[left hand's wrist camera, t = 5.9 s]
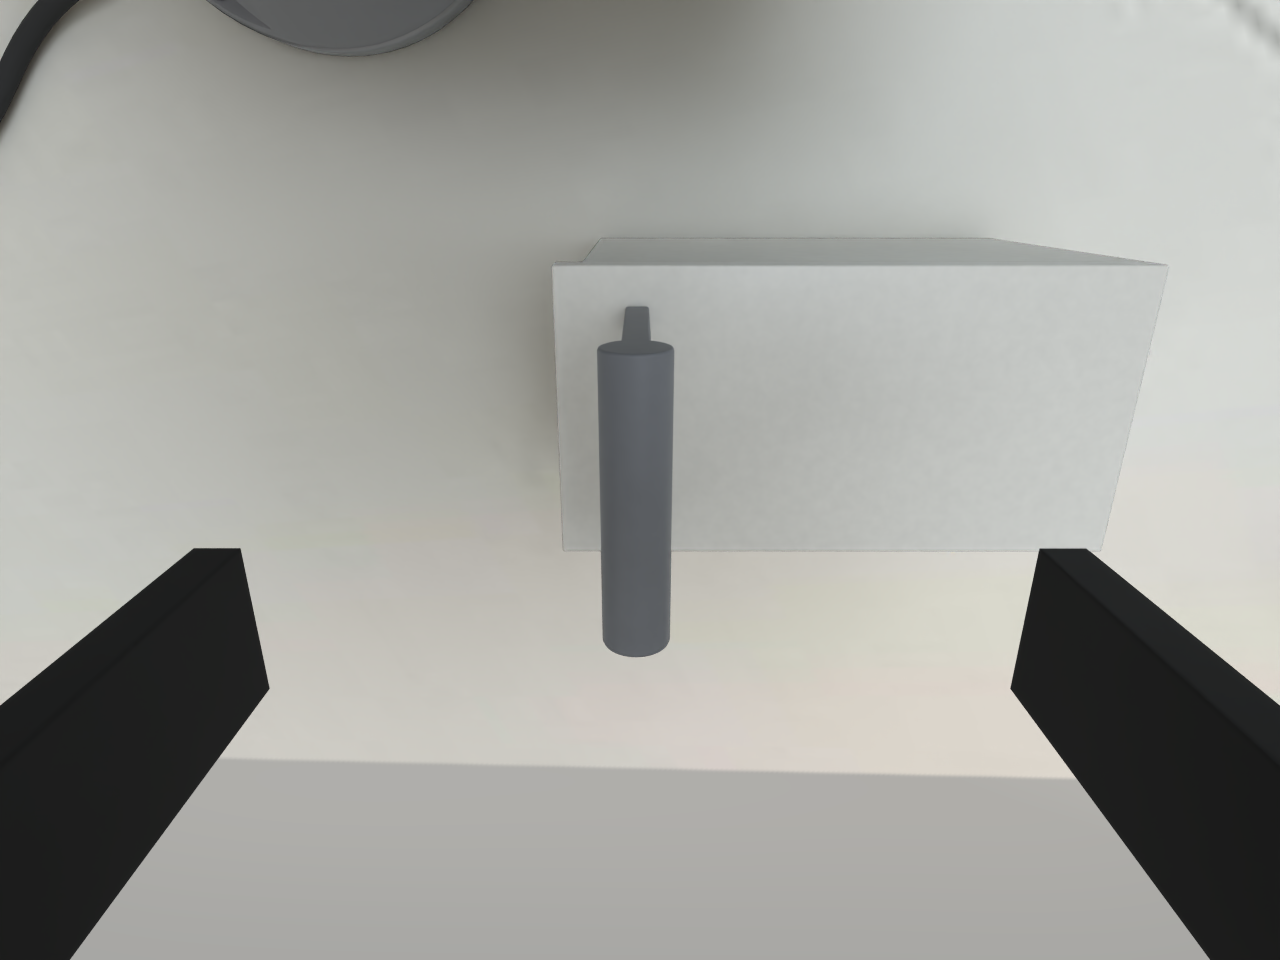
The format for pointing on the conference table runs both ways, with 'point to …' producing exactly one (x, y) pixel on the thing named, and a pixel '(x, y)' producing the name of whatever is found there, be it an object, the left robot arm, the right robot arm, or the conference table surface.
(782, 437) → the lid
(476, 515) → the conference table surface
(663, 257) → the chest
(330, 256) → the conference table surface
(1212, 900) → the left robot arm
